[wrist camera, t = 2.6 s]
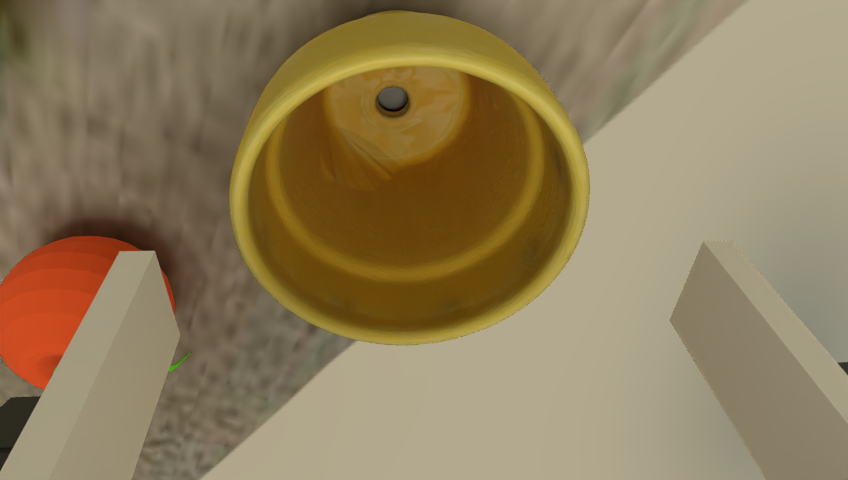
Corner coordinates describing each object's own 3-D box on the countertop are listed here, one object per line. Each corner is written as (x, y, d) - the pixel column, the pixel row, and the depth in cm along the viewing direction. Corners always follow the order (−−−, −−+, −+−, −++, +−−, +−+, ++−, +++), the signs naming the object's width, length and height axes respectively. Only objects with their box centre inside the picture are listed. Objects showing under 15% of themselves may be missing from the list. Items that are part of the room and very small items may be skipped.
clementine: (226, 235, 28) (193, 344, 22) (197, 332, 31) (163, 447, 26) (39, 186, 25) (-52, 295, 19) (31, 297, 29) (-47, 418, 23)
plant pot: (328, 223, 28) (320, 383, 20) (220, 13, 22) (147, 128, 14) (535, 156, 27) (611, 299, 19) (483, -83, 21) (565, -19, 13)
